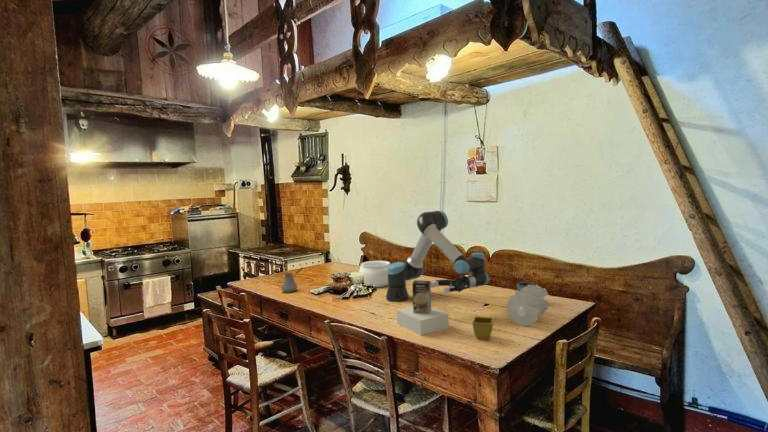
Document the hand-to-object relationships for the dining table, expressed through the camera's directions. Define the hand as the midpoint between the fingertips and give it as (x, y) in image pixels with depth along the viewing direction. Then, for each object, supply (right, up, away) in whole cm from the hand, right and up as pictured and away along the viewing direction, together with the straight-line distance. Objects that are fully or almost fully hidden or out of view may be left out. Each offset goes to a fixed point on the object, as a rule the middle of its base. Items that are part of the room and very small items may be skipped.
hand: (436, 288), depth 218 cm
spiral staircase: (+49, -17, -4) cm, 52 cm away
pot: (-34, -13, +90) cm, 98 cm away
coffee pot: (-96, -16, +83) cm, 128 cm away
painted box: (-8, -20, -5) cm, 22 cm away
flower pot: (+19, -20, -25) cm, 37 cm away
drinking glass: (+59, -14, +28) cm, 67 cm away
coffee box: (-8, -12, -5) cm, 15 cm away
